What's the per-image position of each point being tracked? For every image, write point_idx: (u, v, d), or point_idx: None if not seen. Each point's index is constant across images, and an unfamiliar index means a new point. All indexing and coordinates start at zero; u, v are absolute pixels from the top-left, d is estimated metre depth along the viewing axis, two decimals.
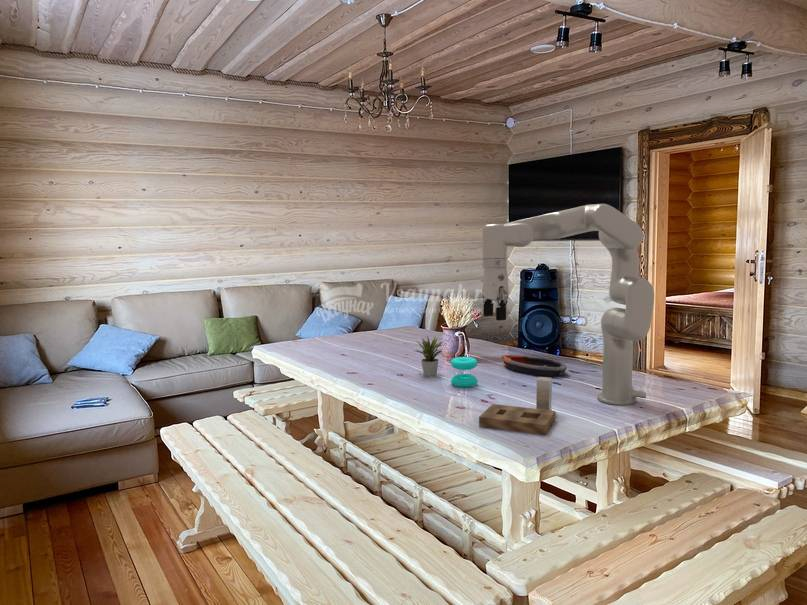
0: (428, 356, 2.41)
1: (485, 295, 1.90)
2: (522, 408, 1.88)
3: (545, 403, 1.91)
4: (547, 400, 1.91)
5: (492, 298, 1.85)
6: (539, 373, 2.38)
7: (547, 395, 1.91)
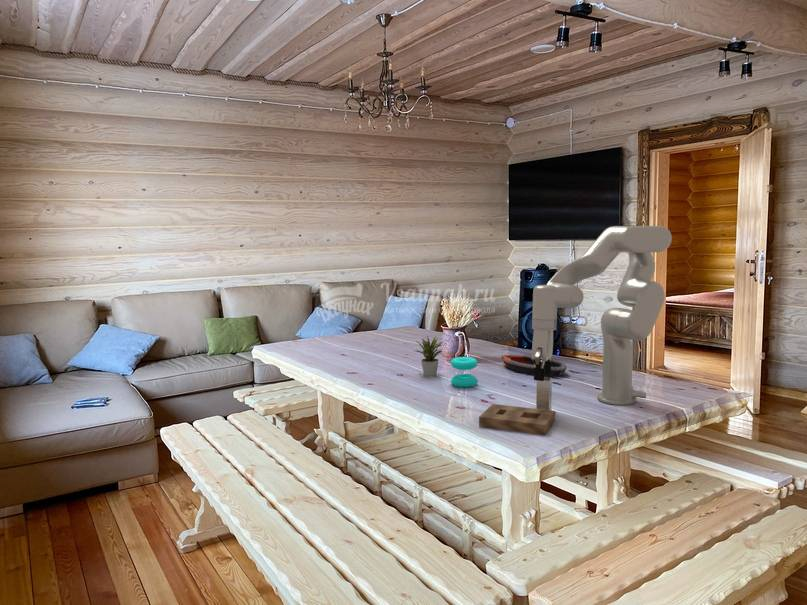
0: (428, 356, 2.41)
1: (548, 357, 1.88)
2: (522, 408, 1.88)
3: (545, 403, 1.91)
4: (547, 400, 1.91)
5: (551, 355, 1.93)
6: None
7: (547, 395, 1.91)
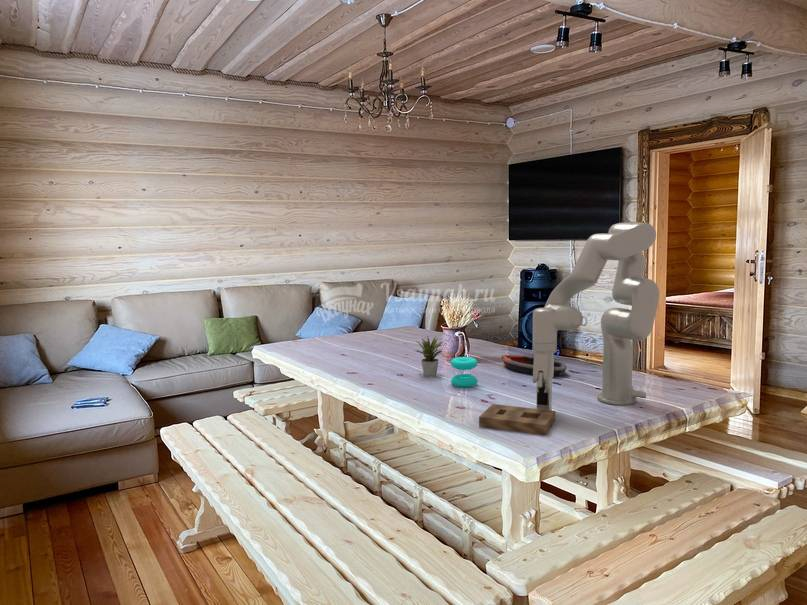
0: (428, 356, 2.41)
1: (549, 380, 1.89)
2: (522, 408, 1.88)
3: None
4: None
5: (552, 377, 1.94)
6: None
7: None
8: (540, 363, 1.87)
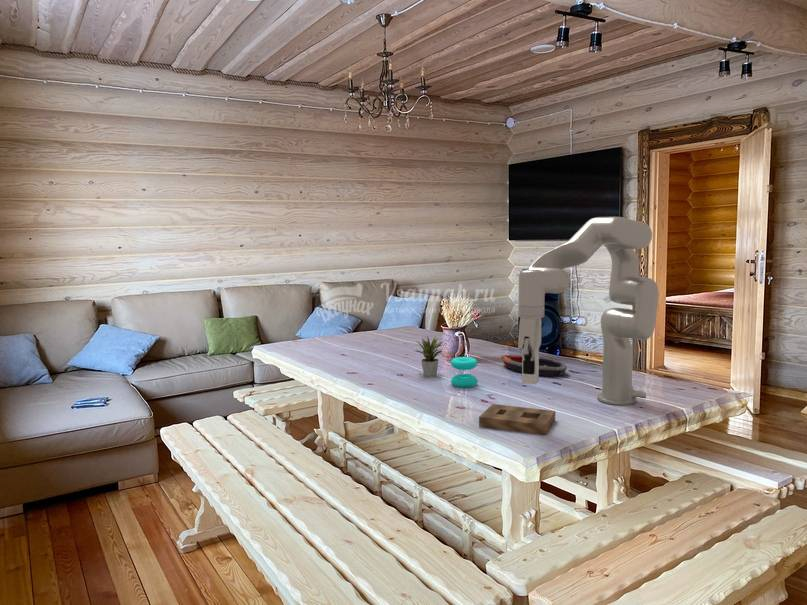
0: (428, 356, 2.41)
1: (536, 347, 1.76)
2: (522, 408, 1.88)
3: None
4: (534, 369, 1.77)
5: (539, 345, 1.80)
6: (539, 373, 2.38)
7: (534, 363, 1.77)
8: (526, 328, 1.73)
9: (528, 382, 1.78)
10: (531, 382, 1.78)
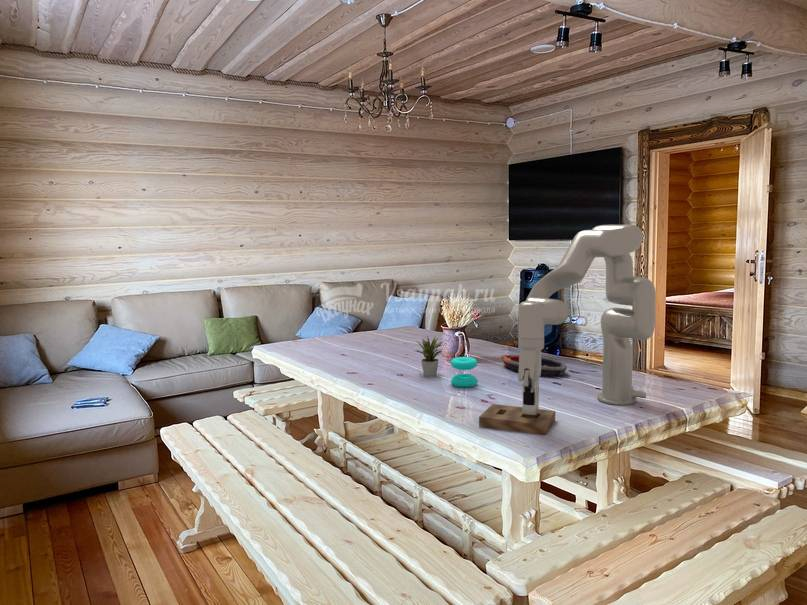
0: (428, 356, 2.41)
1: (536, 378, 1.77)
2: None
3: None
4: (534, 400, 1.78)
5: (539, 375, 1.82)
6: None
7: (534, 394, 1.78)
8: (526, 360, 1.75)
9: (528, 413, 1.79)
10: (531, 413, 1.79)
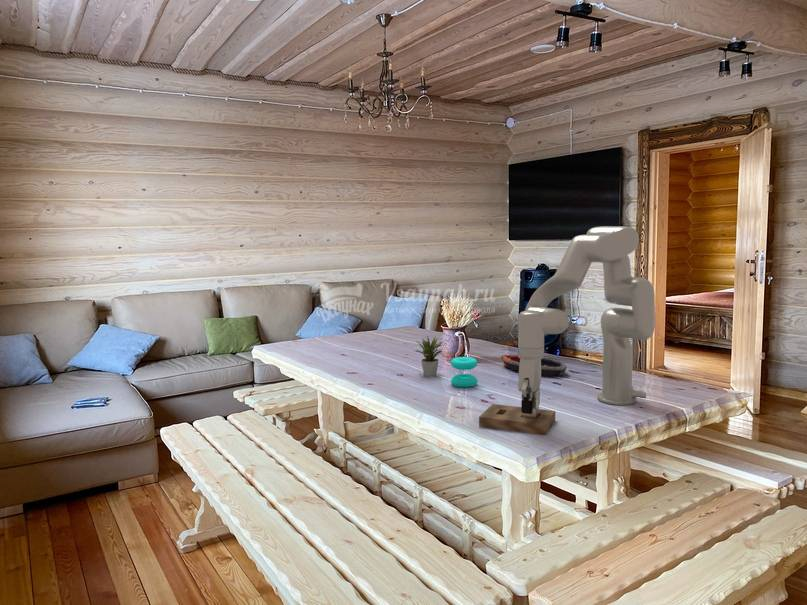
0: (428, 356, 2.41)
1: (536, 388, 1.77)
2: None
3: (532, 416, 1.79)
4: (534, 412, 1.79)
5: (539, 384, 1.82)
6: None
7: (534, 407, 1.79)
8: (526, 370, 1.75)
9: None
10: None
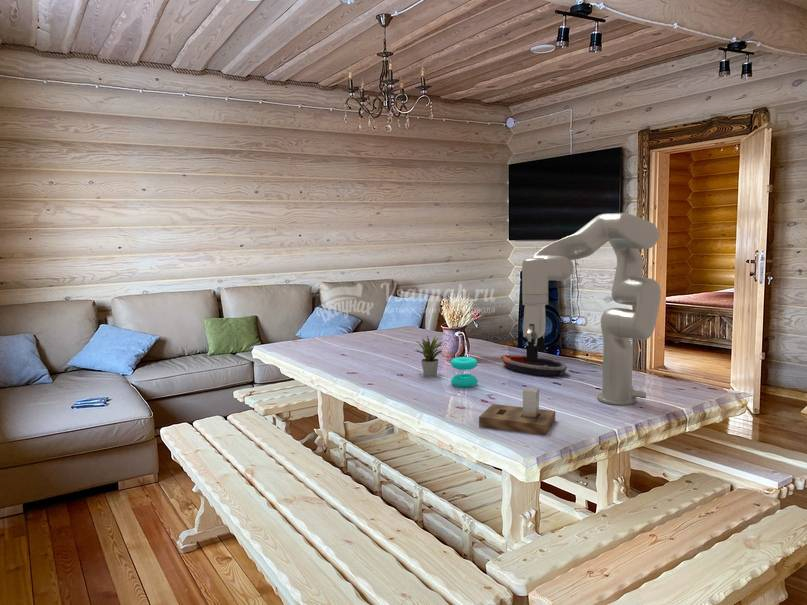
0: (428, 356, 2.41)
1: (541, 334, 1.78)
2: (522, 408, 1.88)
3: (532, 416, 1.79)
4: (534, 412, 1.79)
5: (544, 332, 1.83)
6: (539, 373, 2.39)
7: (534, 407, 1.79)
8: (531, 316, 1.76)
9: None
10: None
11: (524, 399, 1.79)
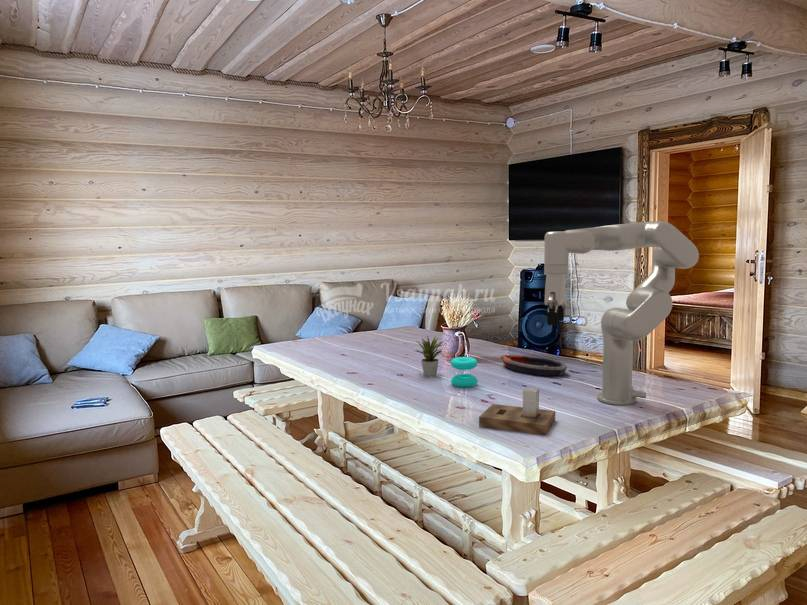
0: (428, 356, 2.41)
1: (561, 302, 1.92)
2: (522, 408, 1.88)
3: (532, 416, 1.79)
4: (534, 412, 1.79)
5: None
6: (539, 373, 2.39)
7: (534, 407, 1.79)
8: (552, 284, 1.90)
9: None
10: None
11: (524, 399, 1.79)
